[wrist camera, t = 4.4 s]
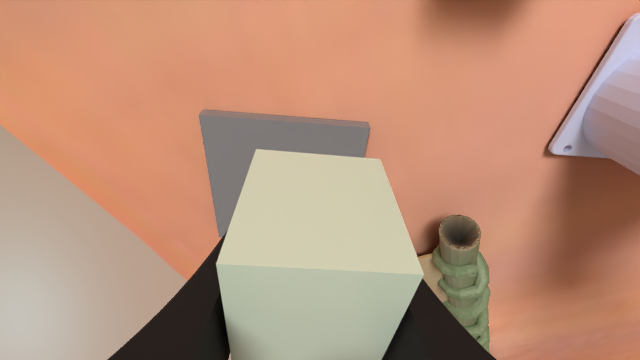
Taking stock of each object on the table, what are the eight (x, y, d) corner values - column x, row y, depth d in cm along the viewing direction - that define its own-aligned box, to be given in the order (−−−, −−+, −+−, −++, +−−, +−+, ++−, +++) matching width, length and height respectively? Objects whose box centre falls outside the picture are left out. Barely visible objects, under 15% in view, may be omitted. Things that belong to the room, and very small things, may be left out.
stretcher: (288, 235, 24) (283, 287, 19) (467, 184, 21) (504, 233, 17) (392, 400, 46) (399, 441, 41) (485, 386, 43) (503, 429, 39)
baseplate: (368, 122, 17) (370, 127, 17) (345, 235, 23) (346, 243, 23) (203, 109, 17) (198, 114, 16) (221, 229, 23) (219, 236, 22)
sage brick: (380, 158, 10) (423, 274, 6) (352, 264, 14) (369, 384, 10) (256, 148, 10) (216, 264, 6) (259, 259, 13) (235, 381, 9)
